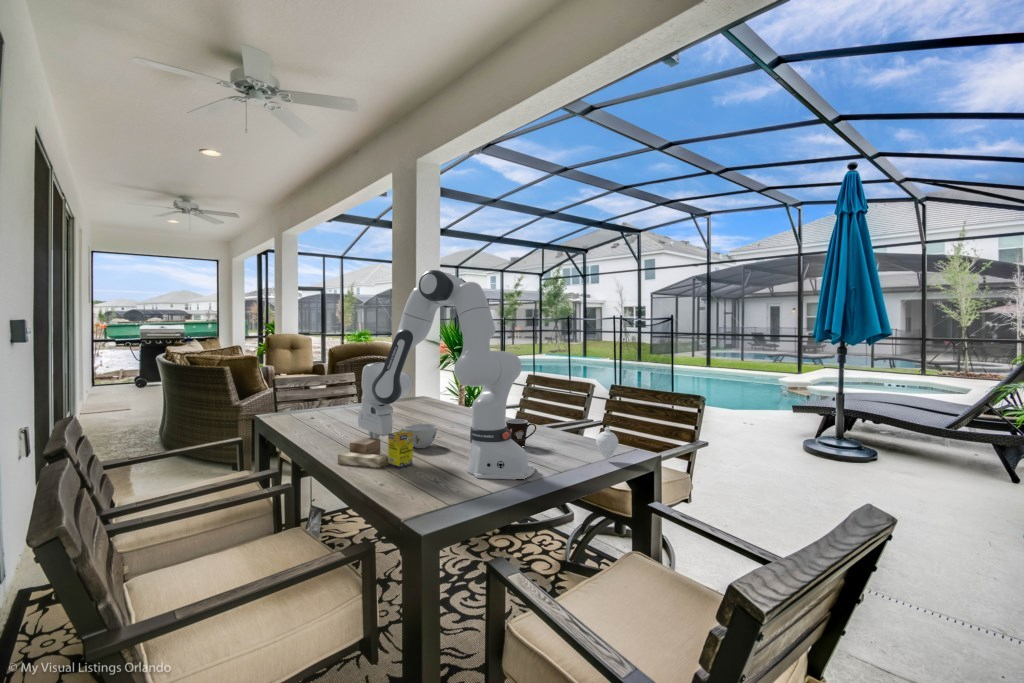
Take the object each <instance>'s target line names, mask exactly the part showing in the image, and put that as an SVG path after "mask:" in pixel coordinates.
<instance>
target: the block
mask: <svg viewBox="0 0 1024 683" xmlns="http://www.w3.org/2000/svg"><path fill="white" fill-rule="evenodd" d="M349 452H353V453H363V454H374V455H381V438H379V439H374V438H370V437H364V436H363V437H361V438H359V439H356V440H353V441H350V442H349Z"/></svg>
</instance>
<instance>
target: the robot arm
mask: <svg viewBox="0 0 1024 683" xmlns="http://www.w3.org/2000/svg"><path fill="white" fill-rule="evenodd" d="M418 281H419V282H418V286H416V287H414V288H413V290H411V292H410V294H409V296H408V298H407V301H406V303H405V305H404V309H403V311H402V314H401V318H400V322H399V324H398V328H397V331H396V334H395V336H394V337H395V338H394V339H393V341H392V344H391V347H390V349H389V351H388V354H387V357H386V360H385V362H384V361H379V362H378V361H377V362H371V363H367V364H365V365H364V366H363V368H362V372H361V383H360V384H361V385H360V386H361V390H362V395H361V406H360V409H358V416H357V417H358V418H357V424H358V428H360V429H362V430H365V431H368V436H369V437H368V438H374V439H380V436H381V437H387V436H388V434H389V433H393V416H392V415H393V413H394V408H393V407H392V405H391V404H393V403H395V402H396V401H398V400H399V399H401V398H404V397H405V396H407V395H409V394H410V393H411V391H412V389H413V380H412V377H411V376H410V375H409V373H407V372H405V371H403V370H404V368H405V365H406V363H407V359H408V357H409V355H410V353H411V352H412V350H413V349H414V348H415V347H416V346H417V345H419V344H420V343H422V342H423V341H424V340H425V339H426V338H427V336H428V335H429V333H430V330H431V328H432V326H433V323H434V319H435V316H436V313H437V311H438V309H439V308H440V307H444V308H446V309H447V308H455V309H456V313H457V318H458V321H459V326H460V330H461V333H462V342H463V343H462V344H463V345H462V351H461V353H460V356H458V358H457V360H456V361H455V365H454V367H453V368H454V370H453V371H454V376H455V378H456V381H457V382H459V384H460V385H462V386H465V387H473V388H474V387H475V388H478V387H482V389H481V391H480V394H479V395H478V396H477V397H476V398H475V399H474V401H473V402H472V404H471V426H470V430H469V431H470V432H469V441H470V451H469V458H468V461H467V462H468V463H467V466H466V471H467V472H468V473H470V474H471V475H473V476H474V477H475V478H476V479H489V480H490V479H492V480H500V479H501V480H516V479H524V480H526V479H525V478H527V477H529V476H531V475H532V474H533V473H534V474H535V472H536V467H535V465H534V464H533V463H529V457H528V453H527V451H526V449H524V448H522V447H520V446H519V445H518V444H517V443H516V442H514V441H513V440H512V439H511V432H512V429H510V430H509V429H508V428H507V426H506V420H507V419H506V416H507V414H506V412H507V402H508V397H509V394H510V392H511V389H512V386H513V384H514V382H515V381H516V380H517V379H518V378H519V377H520V375H521V373H522V363H521V362H522V361H521V359H520V357H518V355H517V354H515V353H513V352H510V351H505V350H498V351H497V350H495V351H491V348H490V343H491V342H490V341H491V339H492V338H493V337H494V335H495V334H496V326H495V322H494V319H493V315H492V311H491V309H490V305H489V302H488V298H487V296H486V294H485V292H484V290H483V288H482V286H481V285H480V284H479V283H478V282H474V281H465V280H464V279H462V278H460V277H458V276H456V275H454V274H452V273H450V272H449V273H448V272H444V271H441V270H438V269H431V270H427V271H425V272H424V273H422V275H421V276H420V278H419V280H418ZM534 471H535V472H534ZM534 474H533V475H534ZM533 475H532V476H533ZM532 476H531V477H532ZM529 478H530V477H529ZM527 479H528V478H527Z"/></svg>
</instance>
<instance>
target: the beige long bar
mask: <svg viewBox="0 0 1024 683" xmlns="http://www.w3.org/2000/svg"><path fill="white" fill-rule="evenodd" d="M338 463H339V465H347V464H349V466H357V465H361V466H360V467H366V466H370V467H369V468H376V467H380V468H382V467H383V465H384V466H386V465H385V464H387V456H386V455H382V454H380V455H374V454H363V453H353V452H350V451H343V452H341V453H338V454H337V464H338ZM381 466H382V467H381Z"/></svg>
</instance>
